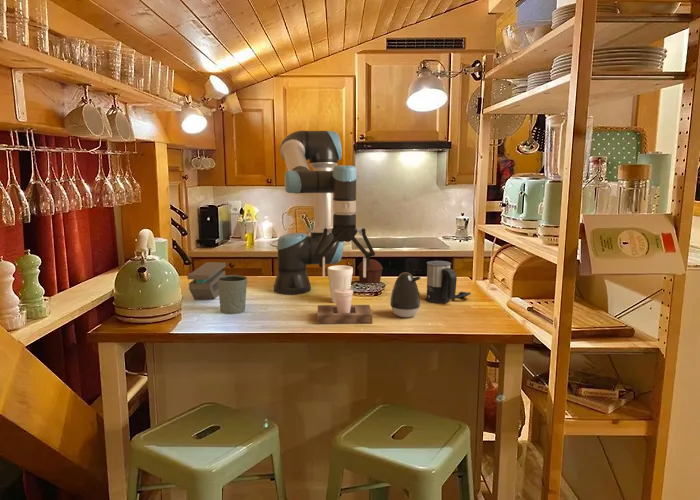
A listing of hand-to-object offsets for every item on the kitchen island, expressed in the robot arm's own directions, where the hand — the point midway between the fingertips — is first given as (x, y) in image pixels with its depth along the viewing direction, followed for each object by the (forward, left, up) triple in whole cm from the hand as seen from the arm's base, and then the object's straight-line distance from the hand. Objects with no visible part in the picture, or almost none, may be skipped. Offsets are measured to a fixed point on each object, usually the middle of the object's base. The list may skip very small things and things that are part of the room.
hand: (344, 276), depth 173 cm
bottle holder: (0, 0, -14) cm, 14 cm away
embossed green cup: (-35, -20, -15) cm, 43 cm away
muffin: (-28, +47, -15) cm, 56 cm away
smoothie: (0, 0, -15) cm, 15 cm away
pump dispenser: (+13, +17, -15) cm, 26 cm away
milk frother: (+13, +44, -15) cm, 49 cm away
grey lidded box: (-60, -14, -15) cm, 63 cm away
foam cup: (-16, +15, -15) cm, 26 cm away
